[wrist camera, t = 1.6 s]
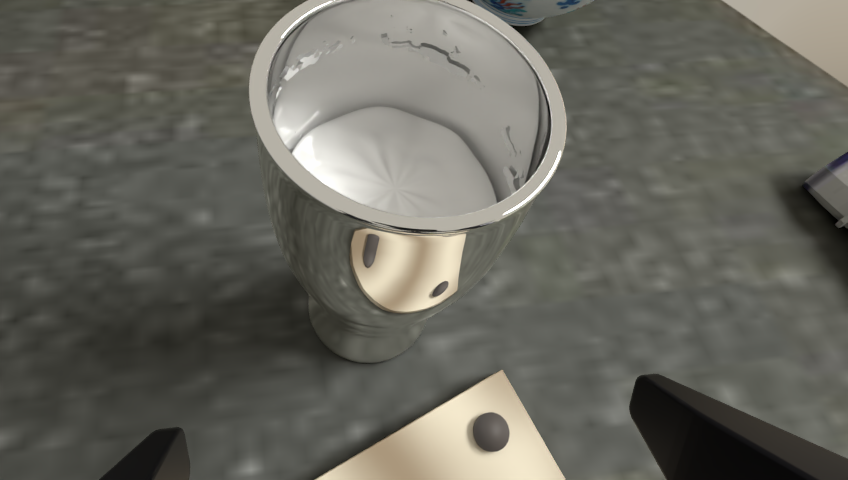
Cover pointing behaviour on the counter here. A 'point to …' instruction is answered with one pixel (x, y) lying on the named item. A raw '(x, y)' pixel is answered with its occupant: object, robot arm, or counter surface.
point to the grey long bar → (832, 188)
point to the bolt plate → (460, 443)
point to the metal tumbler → (398, 157)
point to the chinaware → (529, 9)
